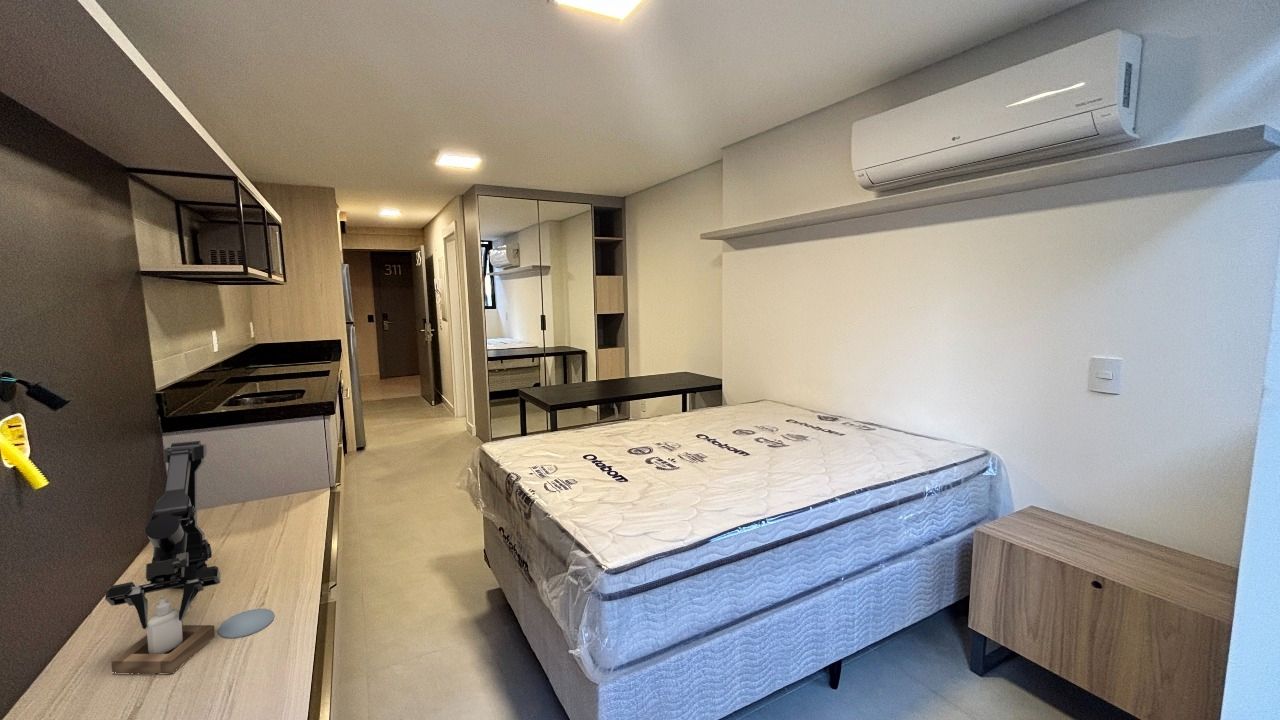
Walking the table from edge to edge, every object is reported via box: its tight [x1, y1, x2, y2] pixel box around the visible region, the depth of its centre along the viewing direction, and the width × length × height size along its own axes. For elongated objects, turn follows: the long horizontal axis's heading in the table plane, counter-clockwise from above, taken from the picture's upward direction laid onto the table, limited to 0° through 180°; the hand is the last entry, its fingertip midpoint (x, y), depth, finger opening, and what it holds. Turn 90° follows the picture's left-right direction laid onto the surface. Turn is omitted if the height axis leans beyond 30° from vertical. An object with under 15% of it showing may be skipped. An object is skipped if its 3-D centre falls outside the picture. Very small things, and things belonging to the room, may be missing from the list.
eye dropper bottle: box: [146, 597, 183, 654], centre depth 114 cm, size 4×6×12 cm
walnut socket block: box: [110, 624, 216, 675], centre depth 115 cm, size 12×12×3 cm
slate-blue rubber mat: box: [217, 608, 275, 639], centre depth 126 cm, size 11×11×1 cm
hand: (162, 624), depth 113 cm, fingers closed on eye dropper bottle, 5 cm apart
